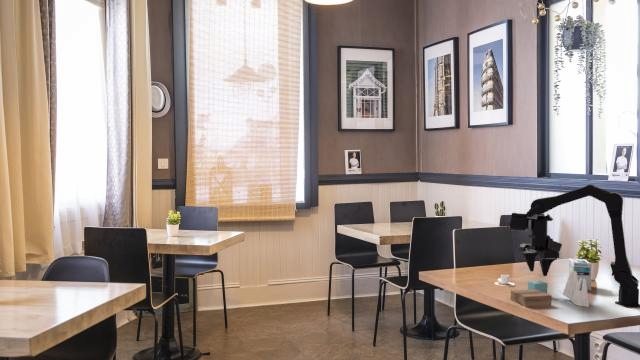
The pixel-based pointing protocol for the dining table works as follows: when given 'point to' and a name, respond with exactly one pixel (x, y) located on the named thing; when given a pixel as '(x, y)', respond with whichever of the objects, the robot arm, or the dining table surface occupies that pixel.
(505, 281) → the teacup and saucer
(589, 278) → the light bulb box
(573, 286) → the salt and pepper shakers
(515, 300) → the walnut block
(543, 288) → the teal cube
